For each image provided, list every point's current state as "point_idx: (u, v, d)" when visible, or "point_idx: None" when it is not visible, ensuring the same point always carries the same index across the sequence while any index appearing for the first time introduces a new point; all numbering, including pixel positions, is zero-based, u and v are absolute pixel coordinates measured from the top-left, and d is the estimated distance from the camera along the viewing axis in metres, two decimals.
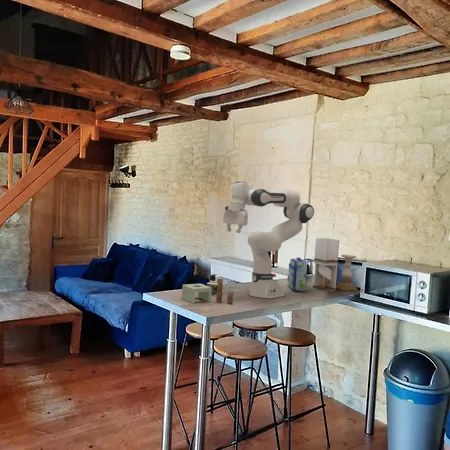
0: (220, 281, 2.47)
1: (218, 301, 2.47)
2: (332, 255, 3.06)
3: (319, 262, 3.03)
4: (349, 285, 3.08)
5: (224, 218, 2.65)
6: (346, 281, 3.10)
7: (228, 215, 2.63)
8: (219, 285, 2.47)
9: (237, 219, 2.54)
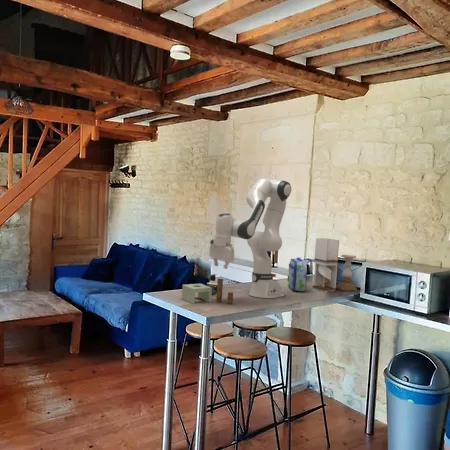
0: (220, 281, 2.47)
1: (218, 301, 2.47)
2: (332, 255, 3.06)
3: (319, 262, 3.03)
4: (349, 285, 3.08)
5: (210, 252, 2.53)
6: (346, 281, 3.10)
7: (214, 249, 2.51)
8: (219, 285, 2.47)
9: (223, 255, 2.42)
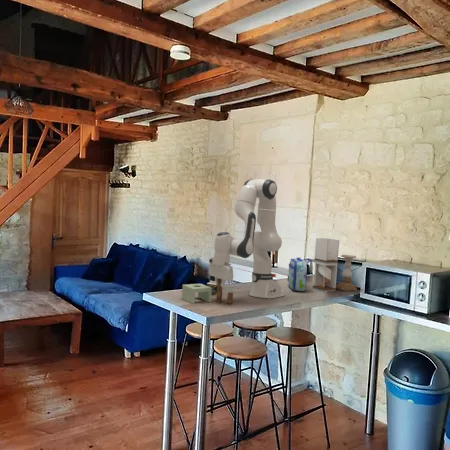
0: (220, 281, 2.47)
1: (218, 301, 2.47)
2: (332, 255, 3.06)
3: (319, 262, 3.03)
4: (349, 285, 3.08)
5: (209, 270, 2.54)
6: (346, 281, 3.10)
7: (213, 268, 2.51)
8: (219, 285, 2.47)
9: (222, 274, 2.43)
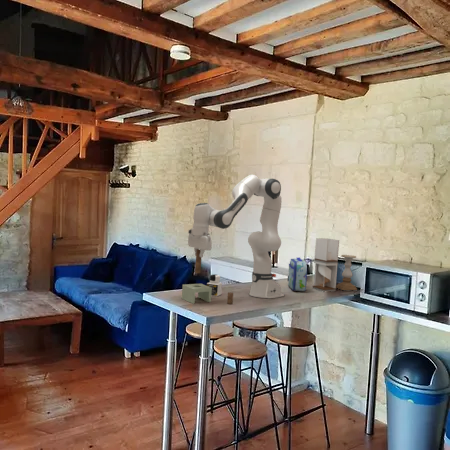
0: (199, 251, 2.47)
1: (197, 271, 2.47)
2: (332, 255, 3.06)
3: (319, 262, 3.03)
4: (349, 285, 3.08)
5: (189, 242, 2.54)
6: (346, 281, 3.10)
7: (192, 239, 2.52)
8: (198, 255, 2.47)
9: (201, 244, 2.43)
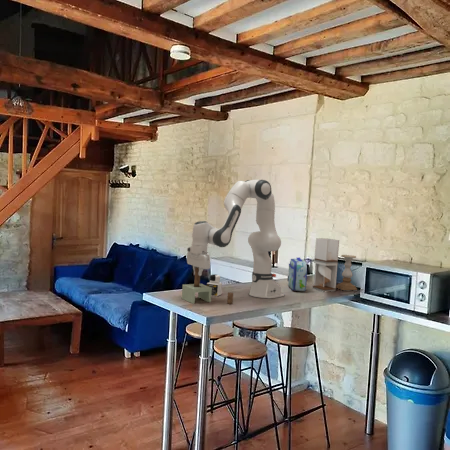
0: (197, 270, 2.47)
1: None
2: (332, 255, 3.06)
3: (319, 262, 3.03)
4: (349, 285, 3.08)
5: (188, 259, 2.55)
6: (346, 281, 3.10)
7: (191, 256, 2.52)
8: (196, 274, 2.48)
9: (200, 262, 2.44)
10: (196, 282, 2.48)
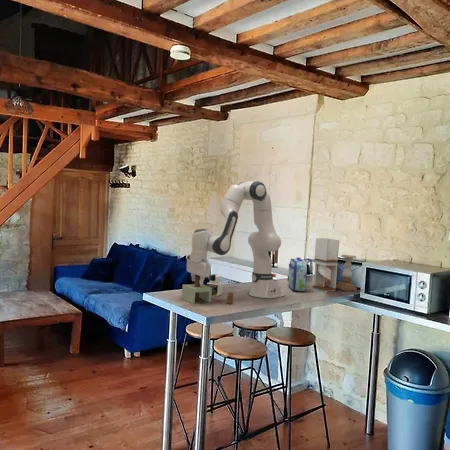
0: (197, 279, 2.48)
1: (195, 299, 2.48)
2: (332, 255, 3.06)
3: (319, 262, 3.03)
4: (349, 285, 3.08)
5: (187, 267, 2.55)
6: (346, 281, 3.10)
7: (191, 264, 2.53)
8: (196, 283, 2.48)
9: (199, 270, 2.44)
10: (196, 292, 2.48)
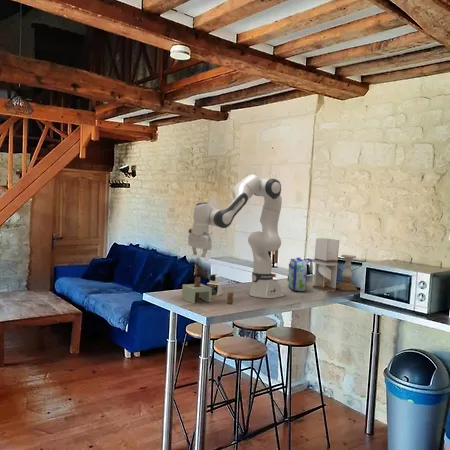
0: (197, 279, 2.48)
1: (195, 299, 2.48)
2: (332, 255, 3.06)
3: (319, 262, 3.03)
4: (349, 285, 3.08)
5: (189, 241, 2.54)
6: (346, 281, 3.10)
7: (192, 238, 2.52)
8: (196, 283, 2.48)
9: (201, 243, 2.43)
10: (196, 292, 2.48)
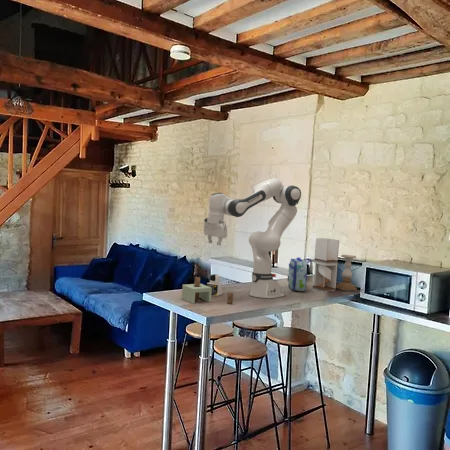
0: (197, 279, 2.48)
1: (195, 299, 2.48)
2: (332, 255, 3.06)
3: (319, 262, 3.03)
4: (349, 285, 3.08)
5: (204, 230, 2.65)
6: (346, 281, 3.10)
7: (208, 227, 2.63)
8: (196, 283, 2.48)
9: (217, 232, 2.54)
10: (196, 292, 2.48)
